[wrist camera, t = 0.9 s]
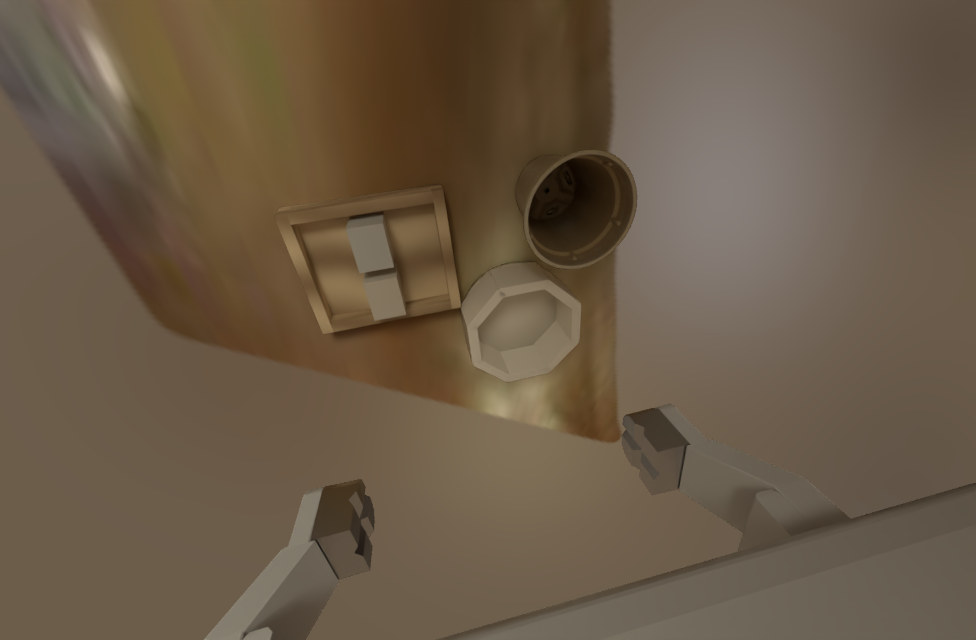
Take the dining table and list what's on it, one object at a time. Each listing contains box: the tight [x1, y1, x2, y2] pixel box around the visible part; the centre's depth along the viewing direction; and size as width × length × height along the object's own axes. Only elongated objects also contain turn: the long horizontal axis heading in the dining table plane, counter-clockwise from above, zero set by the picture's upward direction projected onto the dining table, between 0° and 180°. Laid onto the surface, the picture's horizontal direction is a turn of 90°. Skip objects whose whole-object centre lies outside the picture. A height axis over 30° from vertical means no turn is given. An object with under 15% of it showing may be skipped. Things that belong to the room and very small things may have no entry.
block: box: [363, 262, 406, 321], centre depth 35 cm, size 4×3×4 cm
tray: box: [274, 184, 461, 334], centre depth 35 cm, size 12×14×2 cm
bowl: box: [461, 262, 581, 382], centre depth 41 cm, size 12×12×5 cm
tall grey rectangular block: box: [346, 212, 394, 273], centre depth 33 cm, size 4×3×4 cm
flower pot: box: [515, 149, 637, 269], centre depth 33 cm, size 9×9×9 cm
